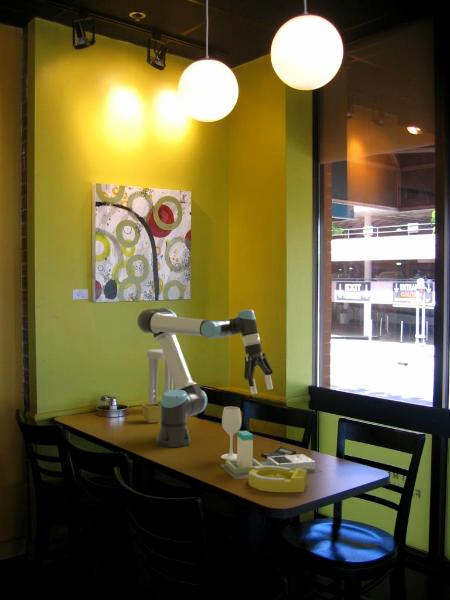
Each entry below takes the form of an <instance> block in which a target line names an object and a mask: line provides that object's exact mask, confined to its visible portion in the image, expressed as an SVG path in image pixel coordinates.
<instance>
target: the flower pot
mask: <svg viewBox="0 0 450 600" xmlns="http://www.w3.org/2000/svg"><path fill="white" fill-rule="evenodd" d="M141 406H142V407H141V409H142V414H143V419H144V420H145V422H147V423H148V424H152V423H153V424H154V423H156V422H157V423H159V422H161V403H158V402H157V403H154V404H148V403H145V404H141ZM157 423H156V424H157Z"/></svg>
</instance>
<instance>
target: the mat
mask: <svg viewBox="0 0 450 600" xmlns="http://www.w3.org/2000/svg"><path fill="white" fill-rule="evenodd" d="M258 462H259V463H260V464H262V465H263V466H266V465H267V460H265V461H258ZM219 465H220V467H221V468H222V469H224V470H225V471H226V472H227V474H229V475H230V476H231V477H232V478H233V479H234V480H241V479H243V480H244V479H249V473H236V474H234V473H233V472H232V471H231V470H230V469H229V468H228V467H227V466H226V463H225V464H219ZM252 466H254V465H253V464H252ZM235 467H236V468H237V465H236V466H235ZM313 473H314V474H316V473H323V471H322V470H320V469H319V468H317V467H316V466H315V471H307V474H313Z"/></svg>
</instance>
